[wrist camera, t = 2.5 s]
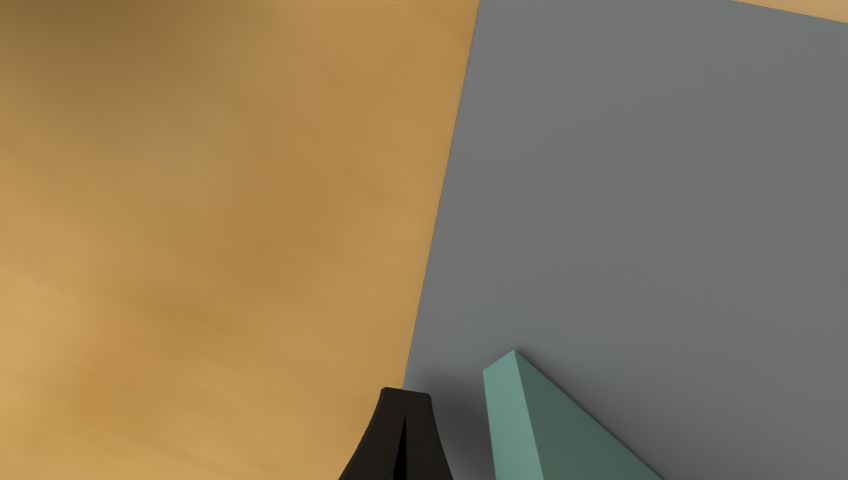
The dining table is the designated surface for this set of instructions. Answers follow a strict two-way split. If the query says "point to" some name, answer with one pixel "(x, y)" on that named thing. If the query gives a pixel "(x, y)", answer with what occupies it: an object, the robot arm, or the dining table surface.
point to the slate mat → (649, 233)
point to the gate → (548, 431)
